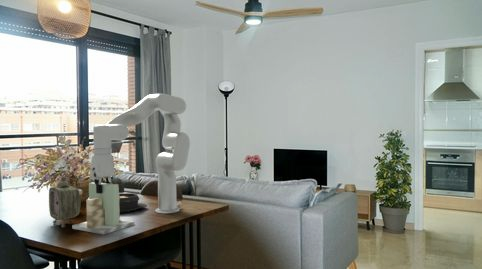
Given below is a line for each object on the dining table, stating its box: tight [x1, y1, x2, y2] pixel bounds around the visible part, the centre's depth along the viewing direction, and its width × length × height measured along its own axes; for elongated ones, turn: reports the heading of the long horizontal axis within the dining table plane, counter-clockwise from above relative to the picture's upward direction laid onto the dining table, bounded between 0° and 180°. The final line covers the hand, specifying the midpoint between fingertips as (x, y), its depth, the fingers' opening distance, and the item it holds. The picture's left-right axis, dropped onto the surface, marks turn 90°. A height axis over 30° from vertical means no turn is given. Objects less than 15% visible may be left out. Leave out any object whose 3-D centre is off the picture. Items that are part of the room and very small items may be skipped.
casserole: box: [119, 192, 148, 214], centre depth 208 cm, size 25×19×8 cm
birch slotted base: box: [71, 198, 136, 235], centre depth 176 cm, size 18×20×14 cm
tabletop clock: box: [48, 170, 81, 229], centre depth 180 cm, size 14×9×25 cm, turn 45°
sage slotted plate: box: [88, 181, 120, 226], centre depth 176 cm, size 3×16×18 cm, turn 60°
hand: (103, 192), depth 175 cm, fingers open, 4 cm apart
